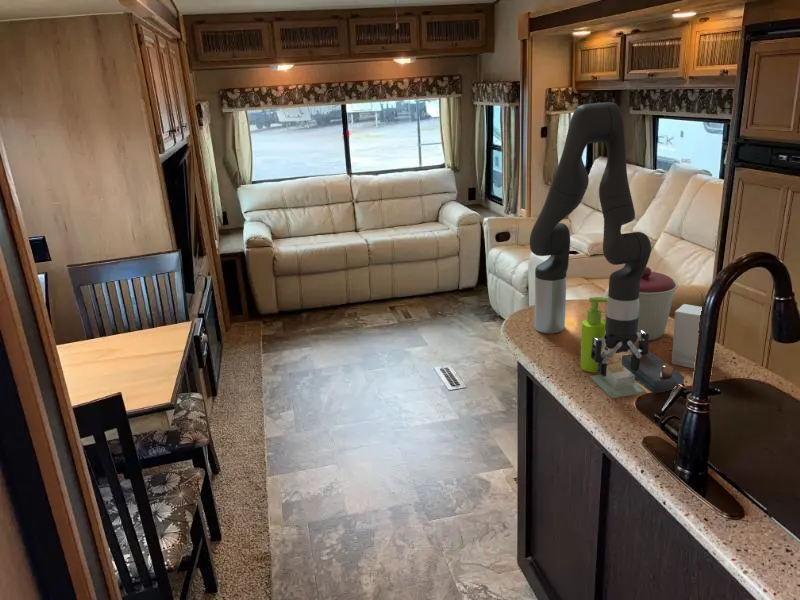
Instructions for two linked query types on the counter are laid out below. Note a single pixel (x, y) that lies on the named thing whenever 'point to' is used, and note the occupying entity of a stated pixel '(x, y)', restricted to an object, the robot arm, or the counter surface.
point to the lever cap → (619, 377)
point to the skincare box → (686, 335)
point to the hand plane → (654, 372)
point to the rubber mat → (616, 394)
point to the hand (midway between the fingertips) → (618, 372)
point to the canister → (655, 302)
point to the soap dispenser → (591, 334)
